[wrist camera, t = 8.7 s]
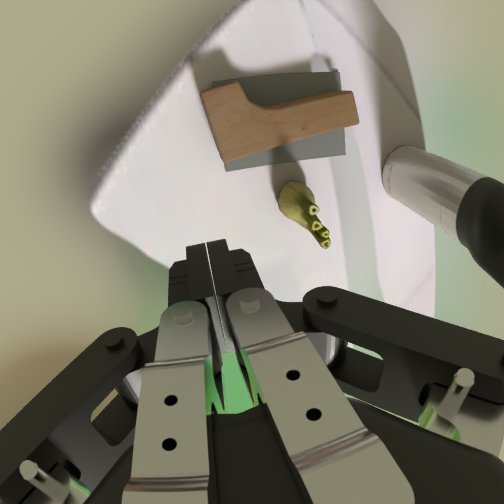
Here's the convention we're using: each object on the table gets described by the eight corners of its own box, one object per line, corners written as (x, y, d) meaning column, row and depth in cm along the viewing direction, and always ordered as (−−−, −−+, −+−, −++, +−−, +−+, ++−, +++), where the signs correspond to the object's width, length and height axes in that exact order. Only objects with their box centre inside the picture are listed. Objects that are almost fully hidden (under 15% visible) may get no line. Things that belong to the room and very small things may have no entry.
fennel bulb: (276, 176, 44) (305, 205, 33) (310, 176, 45) (347, 205, 34) (273, 215, 46) (299, 254, 36) (306, 215, 47) (339, 252, 37)
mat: (338, 72, 38) (339, 71, 38) (344, 154, 44) (345, 154, 44) (212, 82, 36) (212, 82, 36) (225, 171, 42) (226, 171, 42)
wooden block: (199, 91, 32) (345, 56, 33) (198, 92, 36) (330, 59, 37) (223, 164, 37) (361, 124, 37) (220, 157, 41) (345, 120, 41)
